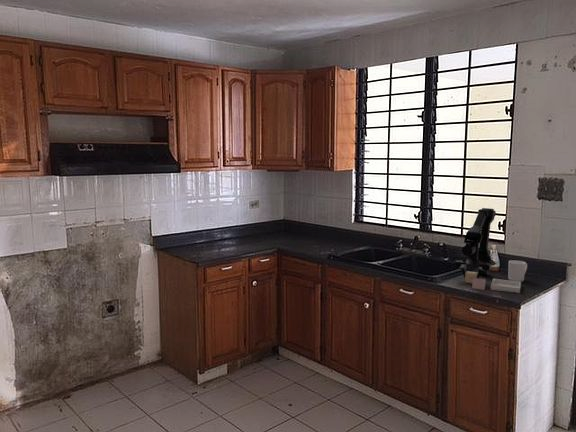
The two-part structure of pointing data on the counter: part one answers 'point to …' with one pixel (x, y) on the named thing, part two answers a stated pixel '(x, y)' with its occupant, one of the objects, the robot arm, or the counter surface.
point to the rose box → (478, 283)
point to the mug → (517, 270)
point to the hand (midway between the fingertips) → (471, 280)
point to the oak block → (470, 276)
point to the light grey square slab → (506, 285)
